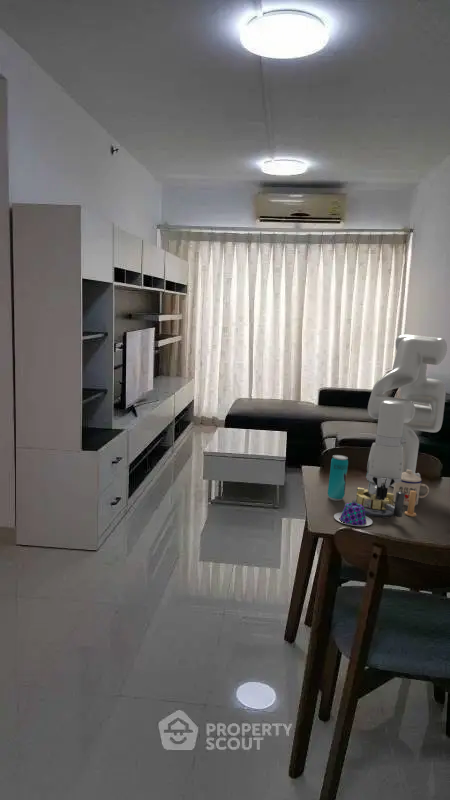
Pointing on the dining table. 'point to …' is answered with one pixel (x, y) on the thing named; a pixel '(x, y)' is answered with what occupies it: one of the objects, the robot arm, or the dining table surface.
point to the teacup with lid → (409, 486)
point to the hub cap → (372, 490)
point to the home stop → (411, 504)
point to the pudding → (353, 515)
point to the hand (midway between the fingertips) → (380, 498)
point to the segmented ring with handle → (381, 501)
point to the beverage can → (337, 477)
